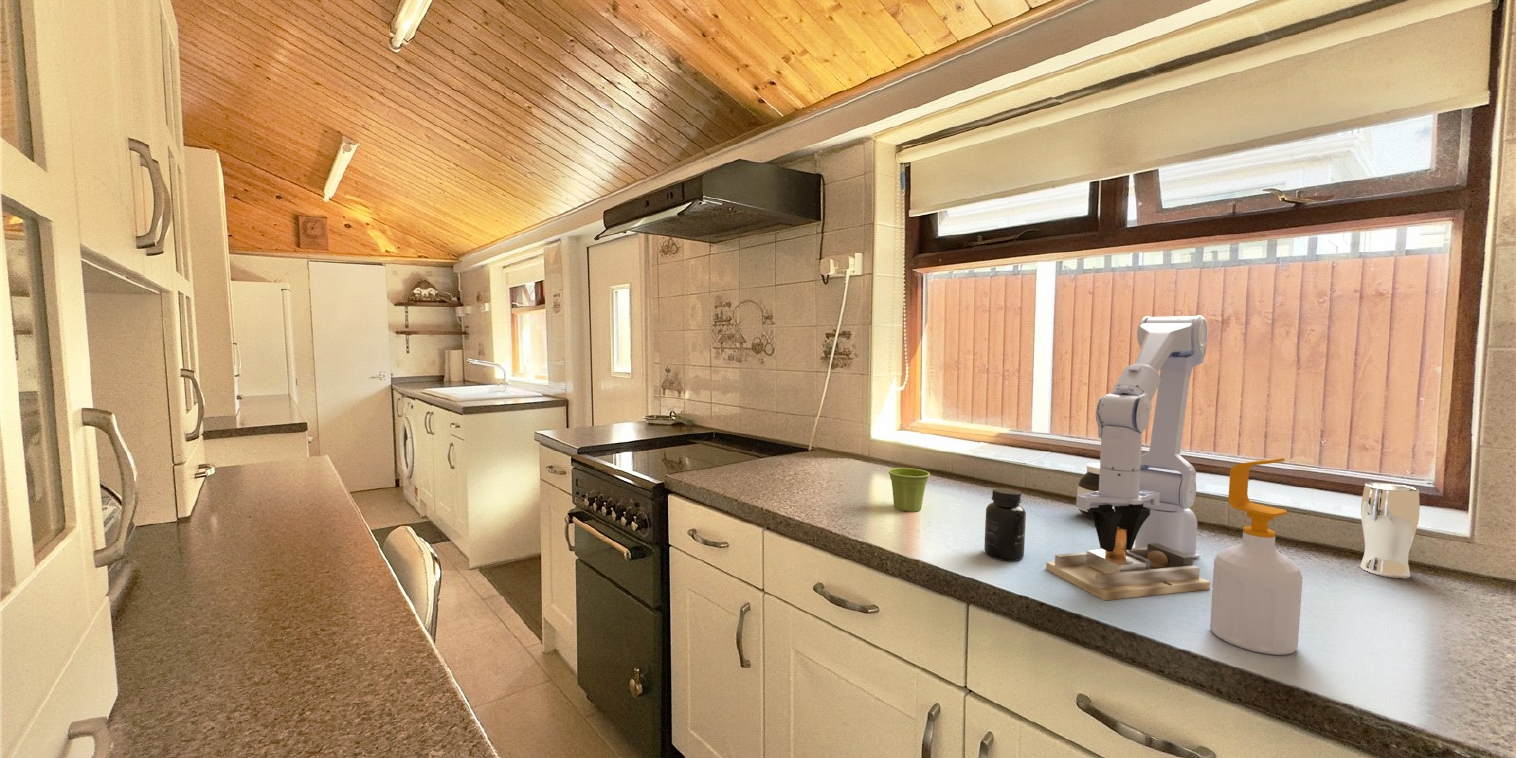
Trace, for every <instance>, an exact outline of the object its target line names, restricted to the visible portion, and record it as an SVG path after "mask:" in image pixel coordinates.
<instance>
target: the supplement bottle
mask: <svg viewBox="0 0 1516 758" xmlns="http://www.w3.org/2000/svg"><path fill="white" fill-rule="evenodd" d="M1021 493H1022V492H1020V491H1019V490H1016V489H1012V488H1004V487H999V488H998V487H997V488H993V489H992V493H991V494H992V495H991V501H993V502H991V503H989V504H988V505H987V506H986V508H985V520H984V521H985V524H984V526H985V527H984V546H983V547H984V548H983V549H984V553H985V554H986V556H988V557H990V558H993V559H997V560H1000V561H1004V562H1005V561H1009V562H1017V561H1020V560H1022V559H1023V558H1024V556H1025V544H1026V543H1025V542H1026V540H1025V539H1026V520H1027V519H1026V518H1027V517H1026V516H1027V512H1026V510H1025V508H1024V507H1023V506H1022V505H1020V504H1021V503H1022V499H1021V498H1022V497H1021V496H1022V495H1021Z"/></svg>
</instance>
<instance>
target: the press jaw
mask: <svg viewBox="0 0 1516 758" xmlns="http://www.w3.org/2000/svg"><path fill="white" fill-rule="evenodd" d="M1127 530H1128V528H1127V527H1125V526H1122V525H1118V527H1117V531H1116V539H1115V547H1114V550H1113V552H1109V551H1106V550H1104V549H1102V548H1100V549H1090V550H1089V549H1088V550H1087V549H1086V552H1087V557H1086V564H1087V565H1089V566H1091V567H1093V568H1095V569H1097V570H1099V571H1101V572H1103V573H1105V574H1108V573H1118V572H1129V571H1140V570H1150V560H1148V559H1146V558H1143V557H1141V556H1139V555H1136V554H1134V553H1131V552H1129V551H1127Z"/></svg>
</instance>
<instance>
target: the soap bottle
mask: <svg viewBox="0 0 1516 758" xmlns="http://www.w3.org/2000/svg"><path fill="white" fill-rule="evenodd" d="M1281 462H1282V463H1283V462H1285V458H1283V457H1280V458H1273V459H1271V458H1270V459H1264V460H1263V459H1262V460H1254V461H1247V462H1243V463H1242V462H1240V463H1237V464H1235V465H1233V466H1232V467H1231V468H1230V471H1229V484H1228V486H1229V487H1228V504H1229V505H1230V506H1231V507H1232V508H1233V509H1235V510H1239V511H1242V512H1246V517H1247V518H1249V519H1251V525H1246V526H1243V528H1242V530H1243V531H1242V539H1241V540H1242V542H1241V543H1240V544H1237V545H1233V546H1230V547H1227V548H1225V549H1223V550H1221V551H1219V552H1217V554H1216V556H1215V558H1214V559H1213V573H1212V574H1213V575H1212V589H1211V605H1210V606H1211V607H1210V618H1209V619H1210V622H1209V626H1210V630H1211V632H1212V633H1213V634H1215V635H1216V637H1218V638H1220V639H1221V640H1223V641H1225V642H1227V643H1229V644H1231V645H1233V646H1236V647H1238V648H1241V649H1244V650H1247V651H1251V652H1254V653H1258V654H1259V653H1260V654H1266V655H1276V656H1281V655H1283V656H1284V655H1290V654H1293V653H1295V651H1296V650H1297V649H1298V647H1299V633H1300V620H1301V619H1300V617H1301V608H1302V607H1301V606H1302V605H1301V603H1302V594H1303V593H1302V591H1303V575H1302V572H1301V569H1300V568H1299V567H1298V565H1297V564H1296V563H1294V561H1292V560H1291V559H1290V558H1289V557H1287V556H1286V555H1284V554H1283V553H1280V552H1279V551H1278V550H1277V549H1276V531H1275V530H1272V529H1270V528H1268V527H1269V522H1272V521H1275V519H1274V518H1275V517H1276V518H1277V517H1280V516H1284V515H1287V514H1288V511H1287V509H1282V508H1277V507H1273V506H1267V505H1264V504H1258V503H1254V502H1252V501H1251V500H1250V499H1249V496H1248V490H1249V489H1248V488H1249V485H1248V484H1249V474H1250V471H1251V470H1250V469H1251V468H1252V467H1253V466H1257V465H1259V466H1260V465H1268V464H1275V463H1281Z"/></svg>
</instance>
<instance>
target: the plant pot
mask: <svg viewBox="0 0 1516 758" xmlns="http://www.w3.org/2000/svg"><path fill="white" fill-rule="evenodd" d="M887 472H888V474H889V478H890V481H891V487H892V499H893V506H894V509H896V510H898V511H901V512H902V511H903V512H904V511H908V512H912V513H914V512H919V511H921V510H922V507H923V501H924V496H925V489H926V485H927V482H928V479H929V477H930V476H931V474H930V472H929V471H927V470H923V469H918V468H910V467H895V468H894V467H893V468H890V469H888V471H887Z"/></svg>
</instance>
